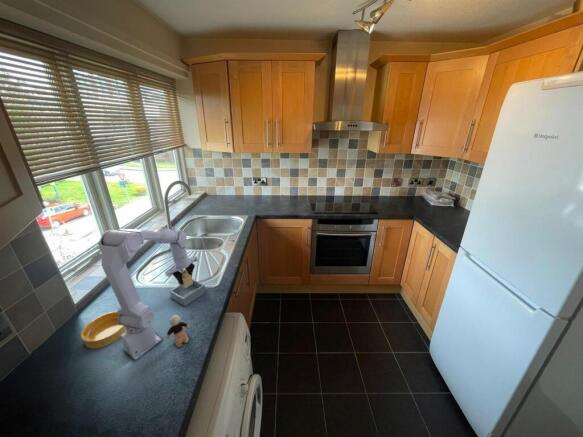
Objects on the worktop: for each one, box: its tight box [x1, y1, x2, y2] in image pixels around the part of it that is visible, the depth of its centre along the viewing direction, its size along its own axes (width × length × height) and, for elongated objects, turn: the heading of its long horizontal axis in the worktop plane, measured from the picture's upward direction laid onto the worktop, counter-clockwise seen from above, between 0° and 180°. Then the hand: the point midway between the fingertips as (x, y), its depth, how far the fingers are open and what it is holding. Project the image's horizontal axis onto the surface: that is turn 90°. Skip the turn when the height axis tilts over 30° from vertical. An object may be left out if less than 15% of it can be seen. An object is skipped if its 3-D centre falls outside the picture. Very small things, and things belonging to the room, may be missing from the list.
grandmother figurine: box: [166, 314, 190, 348], centre depth 84 cm, size 8×4×13 cm, turn 141°
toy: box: [178, 269, 193, 288], centre depth 107 cm, size 4×5×8 cm
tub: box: [169, 278, 207, 307], centre depth 110 cm, size 11×10×4 cm
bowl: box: [80, 310, 127, 349], centre depth 90 cm, size 14×14×4 cm
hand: (185, 281), depth 108 cm, fingers closed on toy, 4 cm apart
